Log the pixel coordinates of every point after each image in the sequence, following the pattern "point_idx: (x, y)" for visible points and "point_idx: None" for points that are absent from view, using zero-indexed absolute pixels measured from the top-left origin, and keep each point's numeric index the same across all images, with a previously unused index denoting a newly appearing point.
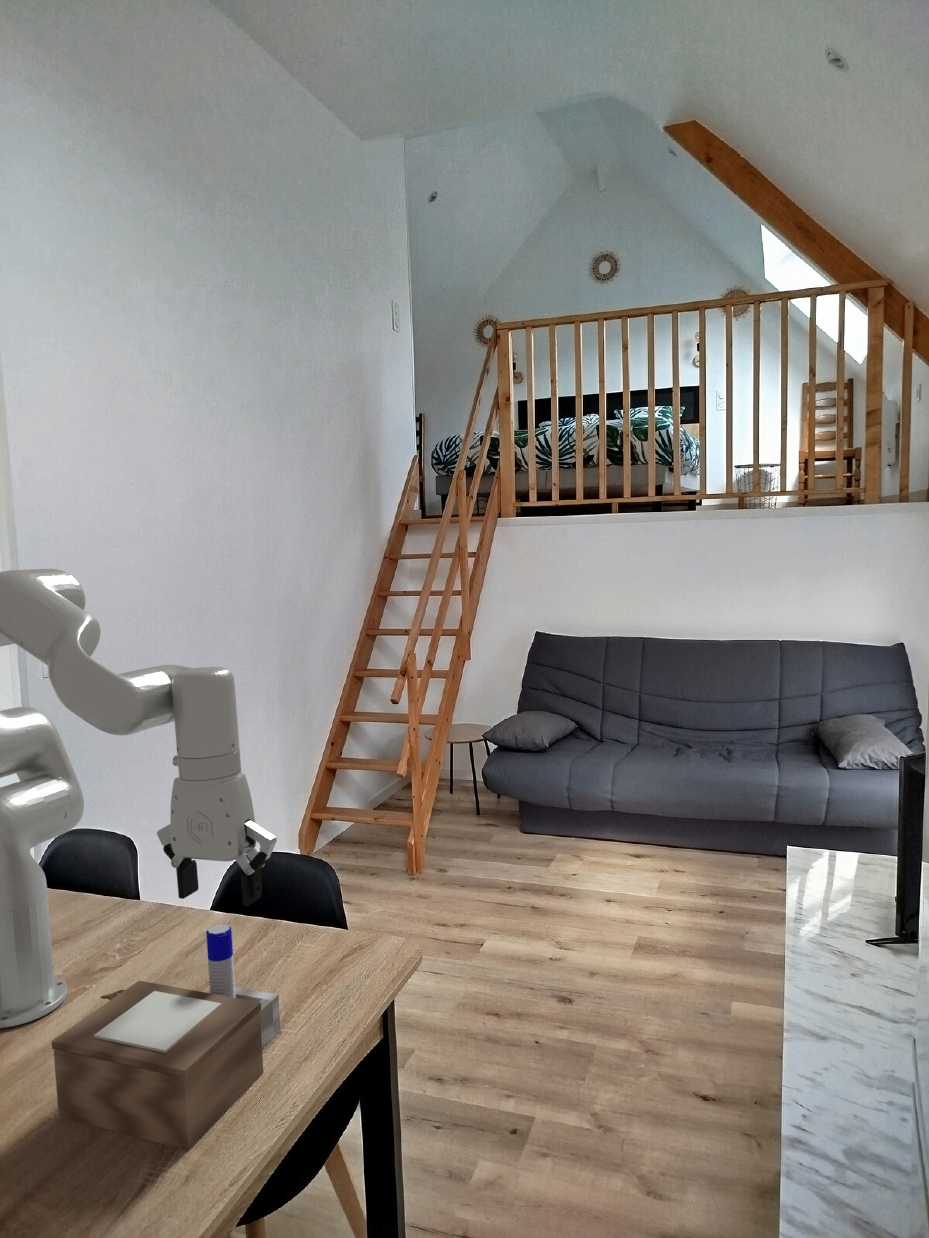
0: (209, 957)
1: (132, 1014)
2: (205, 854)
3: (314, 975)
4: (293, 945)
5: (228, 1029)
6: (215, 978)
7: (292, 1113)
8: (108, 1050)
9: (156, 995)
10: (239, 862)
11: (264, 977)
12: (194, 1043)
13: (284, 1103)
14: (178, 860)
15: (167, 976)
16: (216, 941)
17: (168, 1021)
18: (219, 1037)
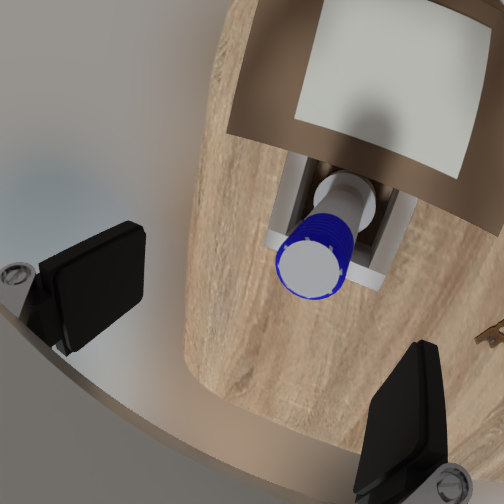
0: (343, 223)
1: (461, 87)
2: (67, 423)
3: (274, 346)
4: (315, 408)
5: (251, 46)
6: (335, 204)
7: (216, 64)
8: None
9: (446, 159)
10: (10, 310)
11: (337, 353)
12: (292, 2)
13: (229, 78)
14: (429, 500)
15: (460, 369)
16: (310, 228)
17: (375, 53)
18: (256, 22)
